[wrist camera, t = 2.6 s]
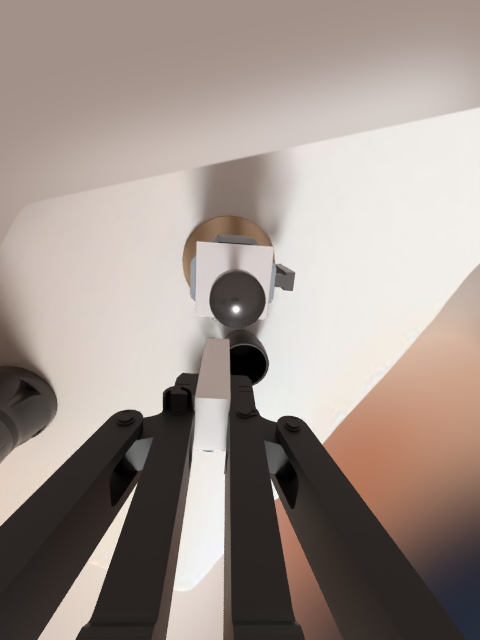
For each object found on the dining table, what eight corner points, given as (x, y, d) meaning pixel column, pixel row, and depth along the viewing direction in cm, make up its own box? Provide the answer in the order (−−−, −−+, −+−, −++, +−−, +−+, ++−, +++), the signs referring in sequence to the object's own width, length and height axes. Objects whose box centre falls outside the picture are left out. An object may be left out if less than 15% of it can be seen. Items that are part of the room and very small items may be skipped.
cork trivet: (182, 305, 51) (182, 306, 51) (183, 212, 46) (183, 212, 46) (269, 310, 52) (269, 311, 52) (278, 219, 48) (279, 219, 47)
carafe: (198, 291, 50) (189, 321, 34) (200, 232, 47) (190, 234, 31) (271, 295, 51) (294, 326, 35) (278, 237, 48) (306, 242, 32)
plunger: (201, 304, 37) (193, 339, 26) (203, 245, 35) (195, 254, 23) (258, 307, 38) (275, 342, 26) (264, 249, 35) (285, 260, 24)
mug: (193, 340, 53) (188, 363, 44) (251, 316, 53) (258, 334, 44) (211, 375, 56) (209, 403, 47) (267, 352, 55) (276, 376, 46)
